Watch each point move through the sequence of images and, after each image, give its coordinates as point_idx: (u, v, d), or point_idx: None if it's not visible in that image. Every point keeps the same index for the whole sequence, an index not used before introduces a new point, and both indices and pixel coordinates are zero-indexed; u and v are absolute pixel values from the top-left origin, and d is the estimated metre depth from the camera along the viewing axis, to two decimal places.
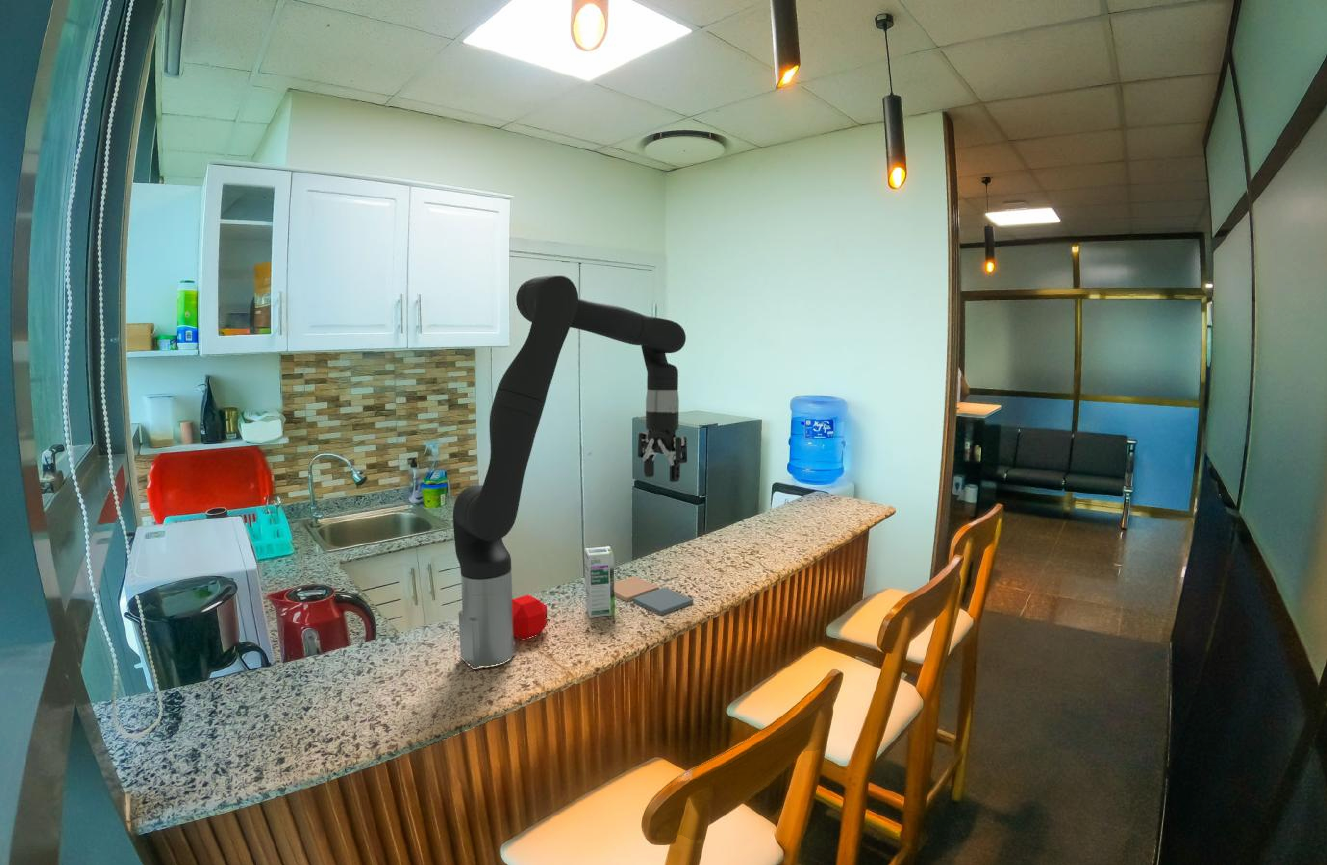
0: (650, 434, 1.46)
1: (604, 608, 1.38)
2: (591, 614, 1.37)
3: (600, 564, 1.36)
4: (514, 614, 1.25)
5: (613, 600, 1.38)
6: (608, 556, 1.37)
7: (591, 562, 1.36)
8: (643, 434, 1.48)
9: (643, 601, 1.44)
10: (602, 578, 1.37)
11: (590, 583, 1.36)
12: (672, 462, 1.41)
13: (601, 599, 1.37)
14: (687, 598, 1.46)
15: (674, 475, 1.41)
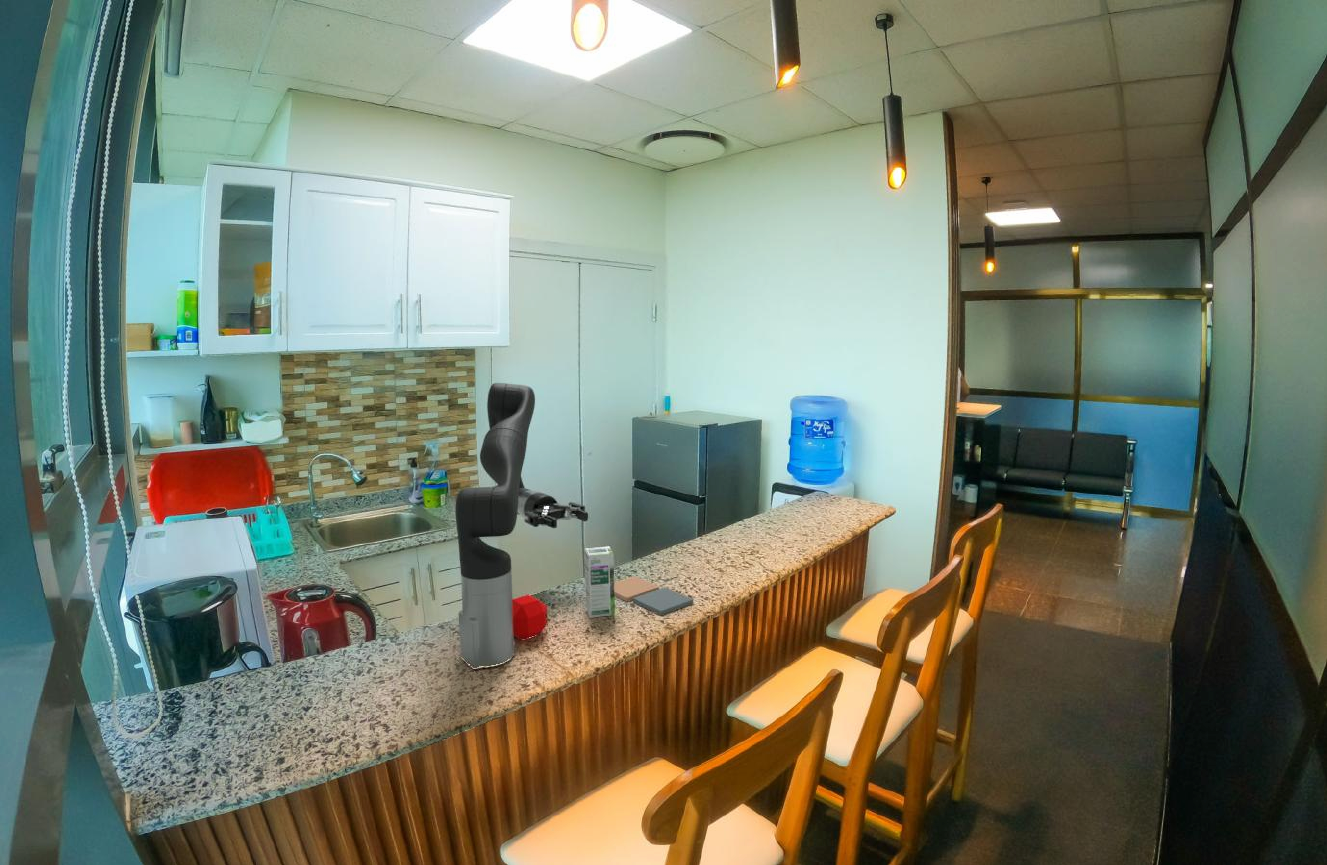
0: (538, 509, 1.52)
1: (604, 608, 1.38)
2: (591, 614, 1.37)
3: (600, 564, 1.36)
4: (514, 614, 1.25)
5: (613, 600, 1.38)
6: (608, 556, 1.37)
7: (591, 562, 1.36)
8: None
9: (643, 601, 1.44)
10: (602, 578, 1.37)
11: (590, 583, 1.36)
12: (578, 507, 1.53)
13: (601, 599, 1.37)
14: (687, 598, 1.46)
15: (585, 512, 1.51)
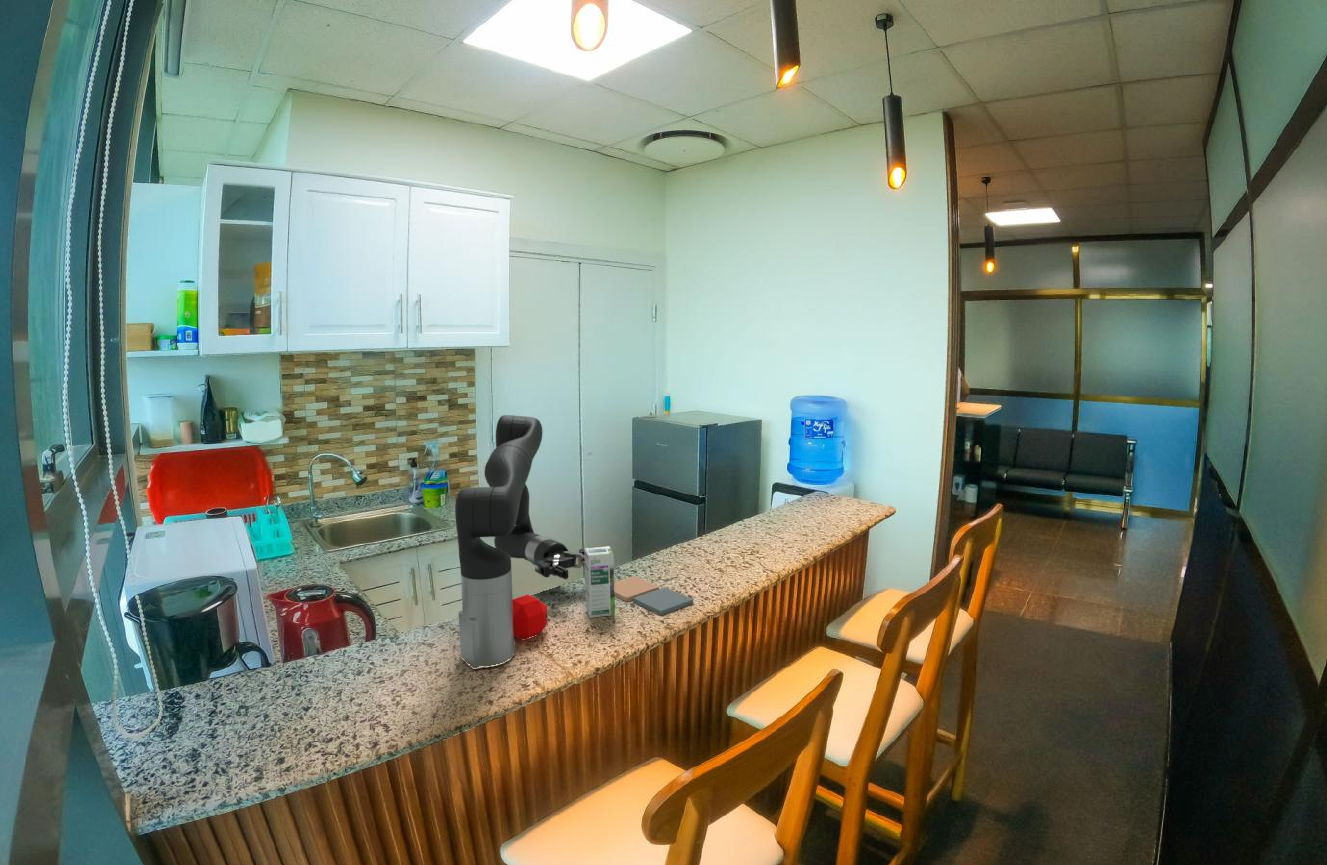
0: (549, 557, 1.50)
1: (604, 608, 1.38)
2: (591, 614, 1.37)
3: (600, 564, 1.36)
4: (514, 614, 1.25)
5: (613, 600, 1.38)
6: (608, 556, 1.37)
7: (591, 562, 1.36)
8: None
9: (643, 601, 1.44)
10: (602, 578, 1.37)
11: (590, 583, 1.36)
12: None
13: (601, 599, 1.37)
14: (687, 598, 1.46)
15: None
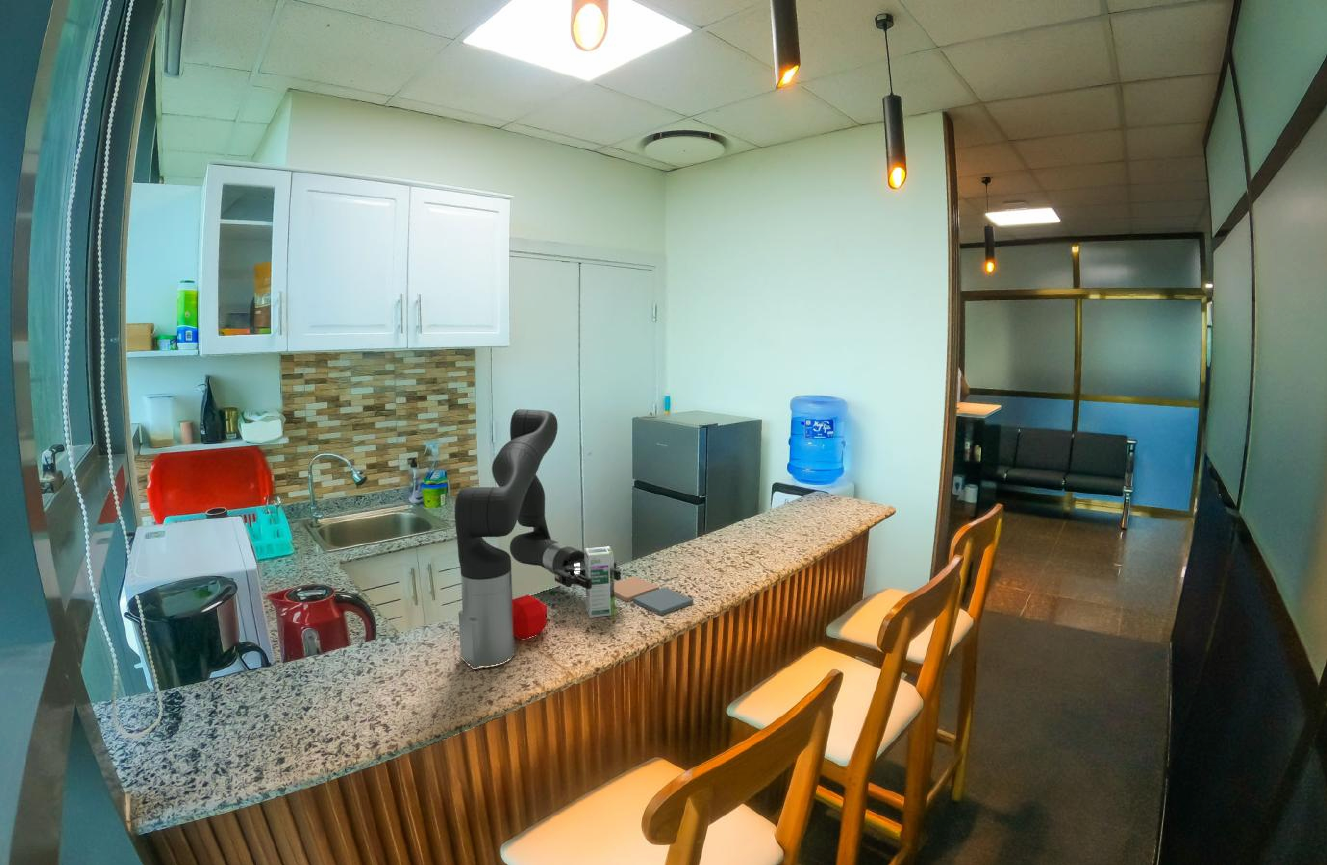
0: (568, 566, 1.44)
1: (604, 608, 1.38)
2: (591, 614, 1.37)
3: (600, 564, 1.36)
4: (514, 614, 1.25)
5: (613, 600, 1.38)
6: (608, 556, 1.37)
7: (591, 562, 1.36)
8: None
9: (643, 601, 1.44)
10: (602, 578, 1.37)
11: None
12: None
13: (601, 599, 1.37)
14: (687, 598, 1.46)
15: None
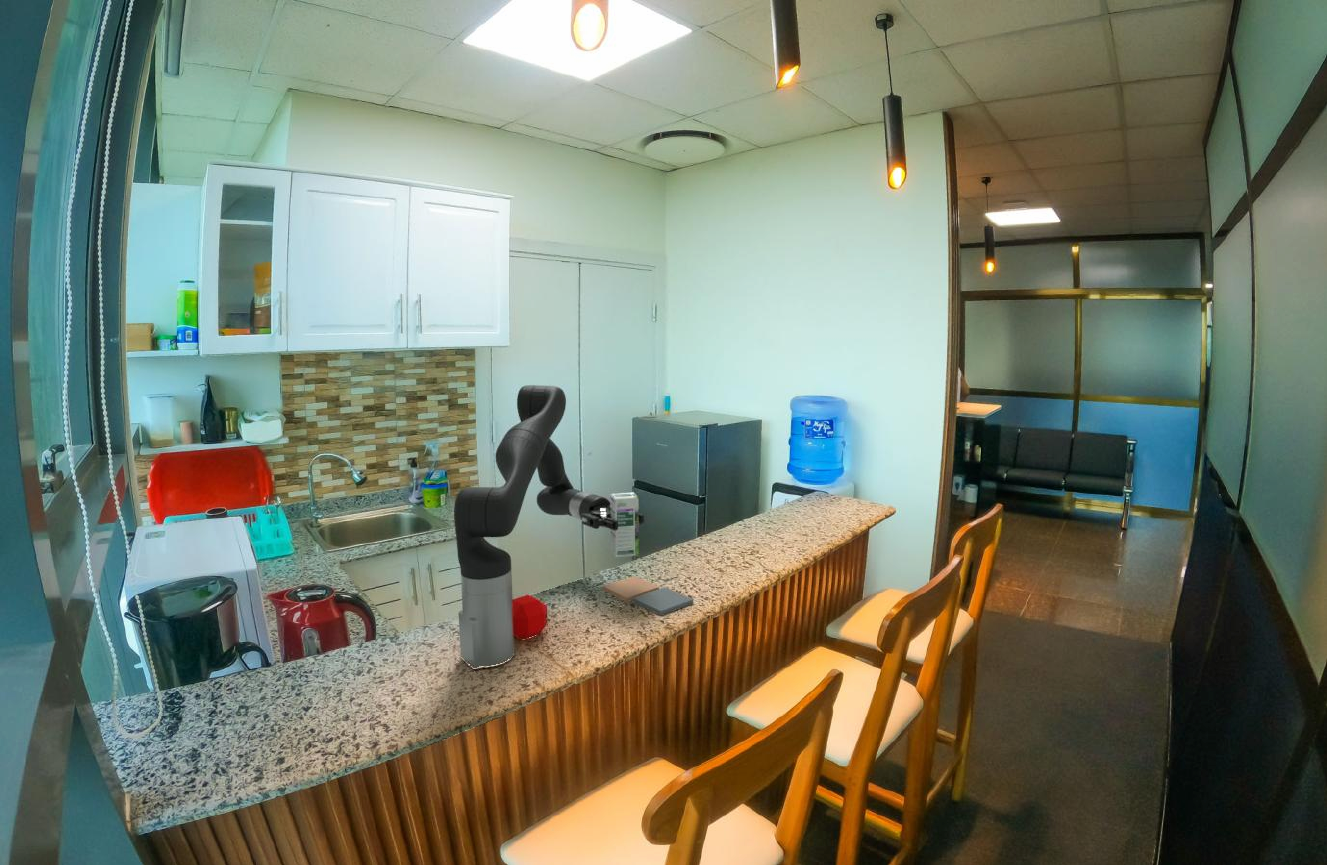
0: (594, 511, 1.53)
1: (629, 548, 1.47)
2: (617, 554, 1.47)
3: (626, 507, 1.46)
4: (514, 614, 1.25)
5: (637, 541, 1.48)
6: (633, 500, 1.46)
7: (617, 505, 1.45)
8: None
9: (643, 601, 1.44)
10: (628, 521, 1.46)
11: None
12: None
13: (627, 540, 1.47)
14: (687, 598, 1.46)
15: None
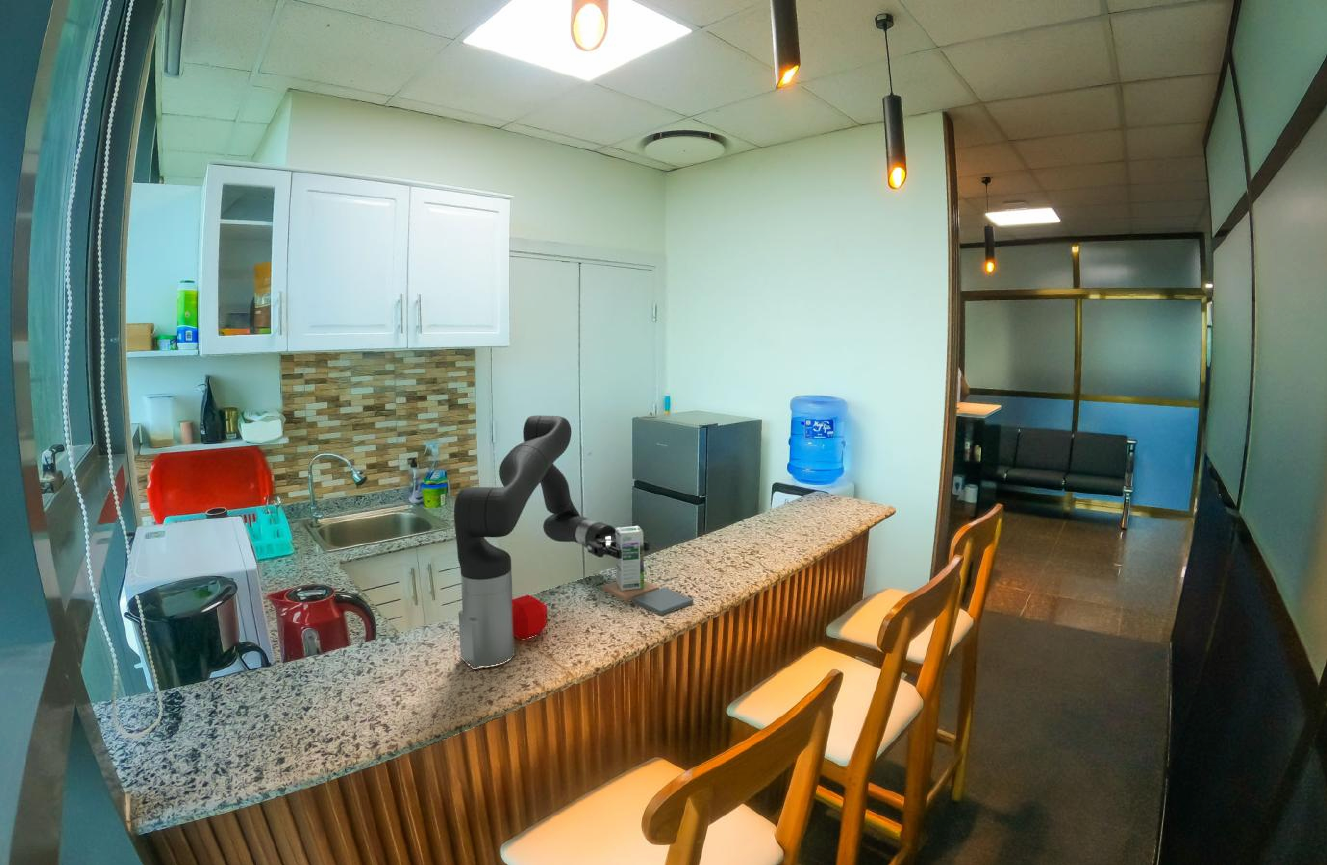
0: (600, 539, 1.56)
1: (634, 582, 1.50)
2: (623, 587, 1.50)
3: (631, 541, 1.49)
4: (514, 614, 1.25)
5: (643, 574, 1.51)
6: (638, 534, 1.49)
7: (623, 539, 1.48)
8: None
9: (643, 601, 1.44)
10: (633, 554, 1.49)
11: (622, 559, 1.49)
12: None
13: (632, 574, 1.50)
14: (687, 598, 1.46)
15: (646, 542, 1.55)
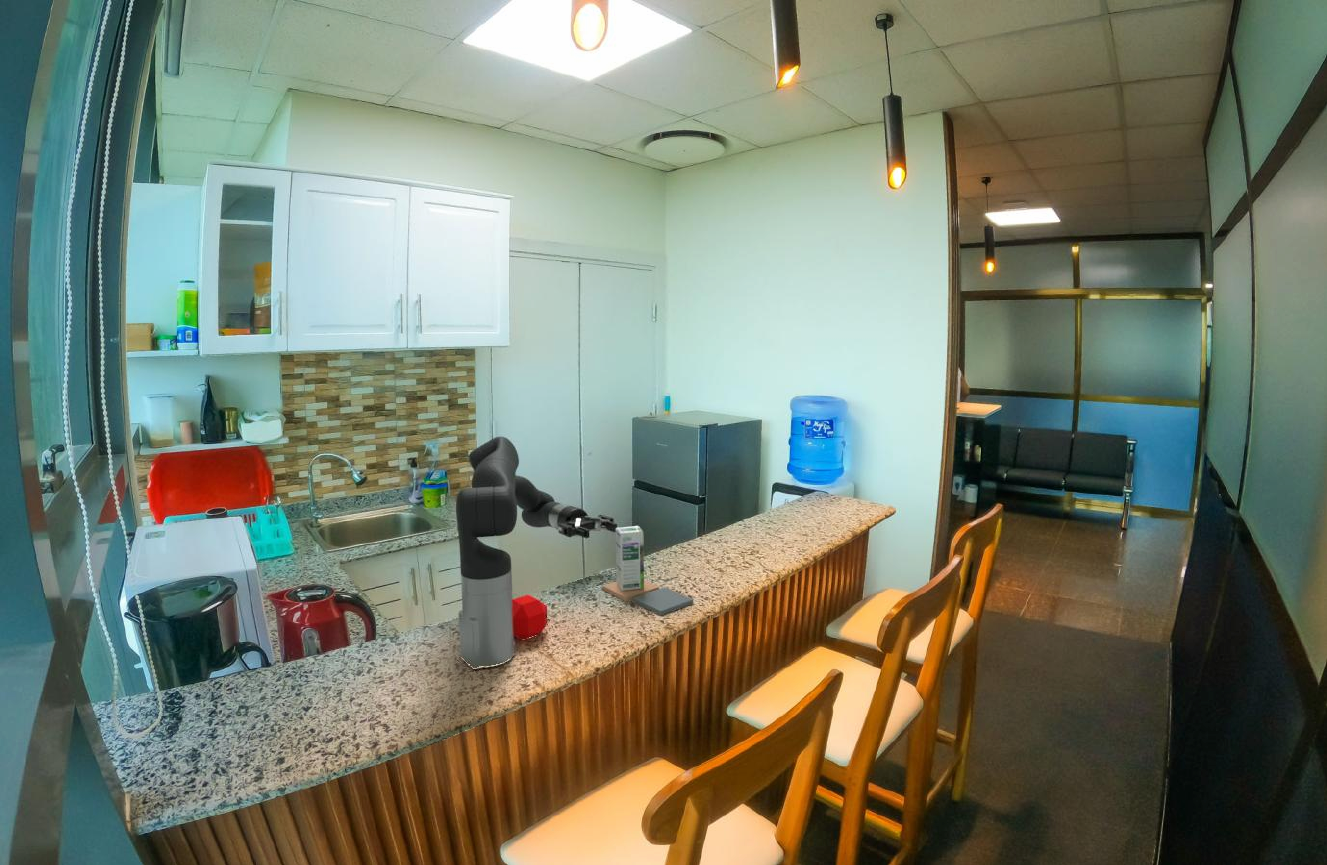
0: (571, 521, 1.64)
1: (634, 582, 1.50)
2: (623, 587, 1.50)
3: (631, 541, 1.49)
4: (514, 614, 1.25)
5: (643, 574, 1.51)
6: (638, 534, 1.49)
7: (623, 539, 1.48)
8: None
9: (643, 601, 1.44)
10: (633, 555, 1.49)
11: (622, 559, 1.49)
12: (607, 519, 1.65)
13: (632, 574, 1.50)
14: (687, 598, 1.46)
15: None
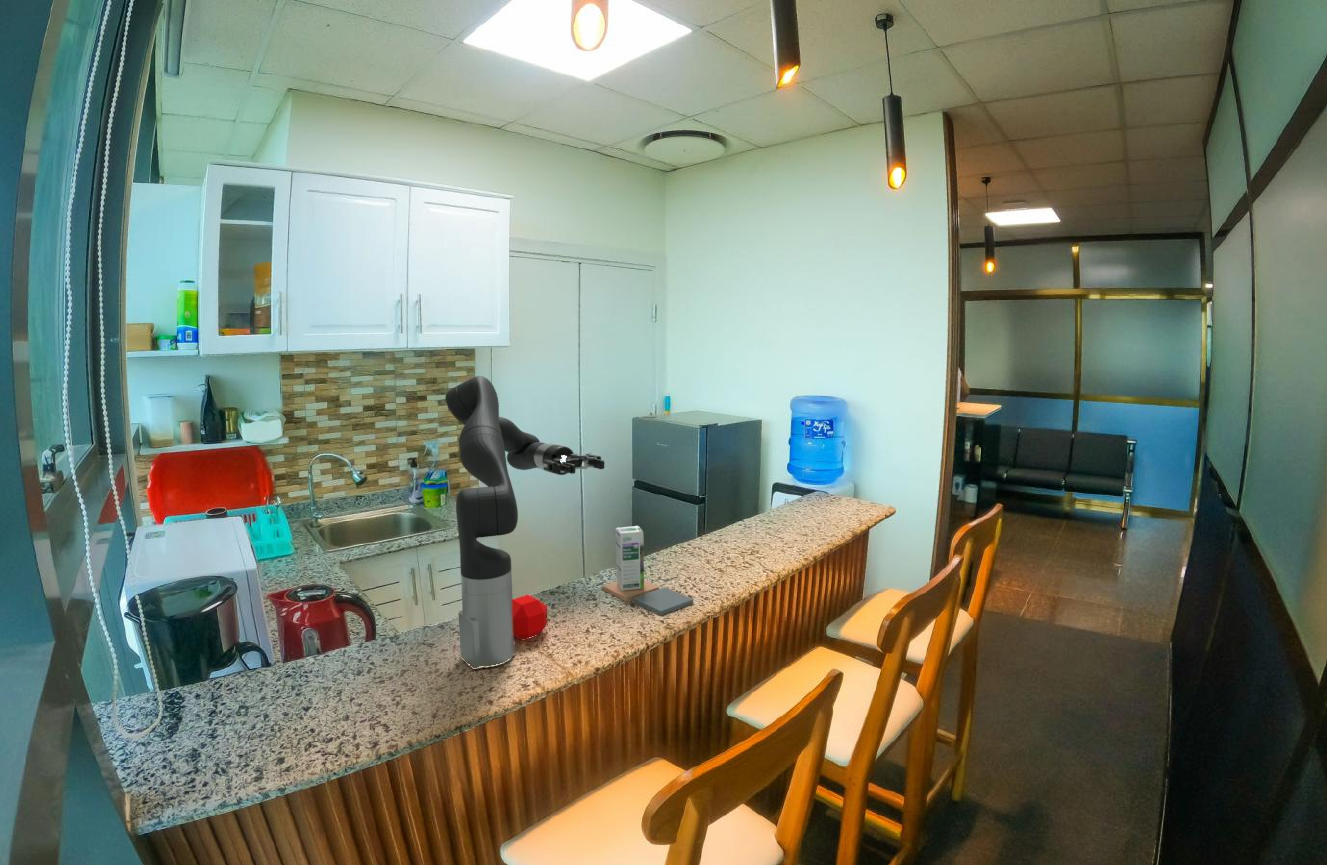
0: (556, 458, 1.59)
1: (634, 582, 1.50)
2: (623, 587, 1.50)
3: (631, 541, 1.49)
4: (514, 614, 1.25)
5: (643, 574, 1.51)
6: (638, 534, 1.49)
7: (623, 539, 1.48)
8: None
9: (643, 601, 1.44)
10: (633, 555, 1.49)
11: (622, 559, 1.49)
12: (594, 457, 1.59)
13: (632, 574, 1.50)
14: (687, 598, 1.46)
15: None
